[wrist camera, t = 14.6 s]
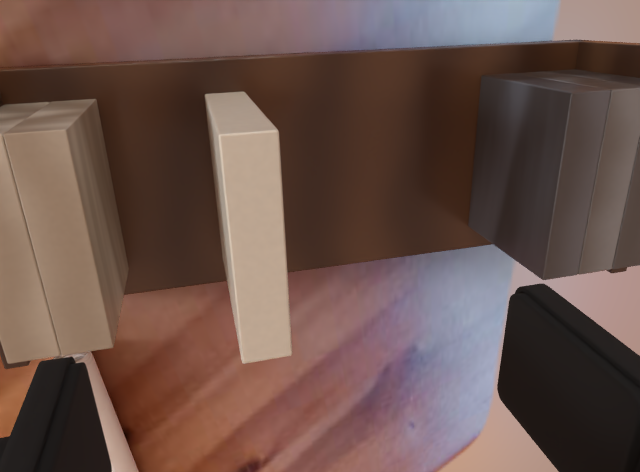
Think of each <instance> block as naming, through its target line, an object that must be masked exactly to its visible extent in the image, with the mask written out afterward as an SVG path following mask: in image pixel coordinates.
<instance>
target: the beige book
mask: <svg viewBox="0 0 640 472" xmlns="http://www.w3.org/2000/svg"><path fill="white" fill-rule="evenodd" d="M205 104H206V113H207V122H208V131H209V140H210V149H211V158H212V166H213V175H214V184H215V193H216V202H217V211H218V220H219V229H220V237H221V246H222V255H223V262H224V267H225V273H226V278H227V283H228V289H229V294H230V300H231V305H232V311H233V316H234V322H235V327H236V332H237V338H238V343H239V349H240V354H241V360H242V363H243V364H246V363H252V362H257V361H263V360H269V359H275V358H281V357H287V356H291V355H292V340H291V323H290V307H289V290H288V273H287V257H286V240H285V223H284V207H283V190H282V173H281V157H280V140H279V131H278V129H277V128H276V127H275V126H274V125H273V124H272V123H271V121H270V120H269V119H268V118H267V117H266V116H265V115H264V114H263V112H262V111H261V110H260V109H259V108H258V107H257V106H256V104H255V103H254V102H253V101H252V100H251V99H250V98H249V96H248V95H247V94H246V93H245V92H228V93H212V94H205Z"/></svg>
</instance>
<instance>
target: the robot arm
mask: <svg viewBox="0 0 640 472" xmlns="http://www.w3.org/2000/svg"><path fill="white" fill-rule="evenodd" d="M498 393H499V397H500V399H501V401H502V402H503V403H504V404H505V406H506V407H507V408H508V410H510V412H511V413H512V415H513V416H514V417H515V418H516V419H517V421H518V422H519V423H520V424H521V426H522V427H523V428H524V429H525V430H526V432H527V433H528V434H529V435H530V437H531V438H532V439H533V440H534V442H535V443H536V444H537V445H538V446H539V448H540V449H541V450H542V451H543V453H544V454H545V455H546V456H547V458H548V459H549V460H550V461H551V463H552V464H553V465H554V466H555V467H556V469H557V470H558V471H559V472H640V356H639V355H637V354H636V353H635V352H634V351H632V350H631V349H630V348H628V347H627V346H626V345H624V344H623V343H622V342H620V341H619V340H618V339H616V338H615V337H614V336H613V335H611V334H610V333H609V332H607V331H606V330H605V329H603V328H602V327H601V326H599V325H598V324H597V323H596V322H594V321H593V320H592V319H590V318H589V317H588V316H586V315H585V314H584V313H583V312H581V311H580V310H579V309H577V308H576V307H575V306H573V305H572V304H571V303H569V302H568V301H567V300H565V299H564V298H563V297H561V296H560V295H559V294H558V293H556V292H555V291H554V290H552V289H551V288H550V287H548V286H547V285H545V284H536V285H529V286H523V287H519V288H518V289H517V290H516V292H515V294H513V295H512V296H511V297H510V300H509V307H508V314H507V321H506V328H505V336H504V343H503V350H502V357H501V364H500V371H499V379H498ZM0 472H112V467H111V461H110V457H109V453H108V449H107V445H106V441H105V437H104V433H103V429H102V425H101V421H100V417H99V413H98V409H97V406H96V402H95V398H94V394H93V390H92V386H91V382H90V378H89V374H88V370H87V367H86V364H85V363H84V362H81V363H76V362H75V360H74V358H73V357H65V358H59V359H52V360H46V361H41V362H40V363H39V365H38V367H37V369H36V372H35V374H34V377H33V379H32V382H31V385H30V387H29V390H28V392H27V395H26V397H25V400H24V402H23V405H22V407H21V410H20V412H19V415H18V417H17V420H16V422H15V425H14V427H13V430H12V432H11V435H10V437H4V438H0Z"/></svg>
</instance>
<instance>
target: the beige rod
mask: <svg viewBox="0 0 640 472" xmlns="http://www.w3.org/2000/svg"><path fill="white" fill-rule="evenodd" d="M65 357H73V358H74V360H75V362H76V363H81V362H84V363H85V364H86V367H87V370H88V374H89V378H90V382H91V386H92V390H93V394H94V398H95V402H96V406H97V409H98V413H99V417H100V421H101V425H102V429H103V433H104V437H105V441H106V445H107V449H108V453H109V457H110V461H111V467H112V472H139V471H138V469H137V466H136V464H135V461H134V458H133V456H132V453H131V451H130V448H129V446H128V443H127V441H126V438H125V436H124V433H123V430H122V428H121V425H120V423H119V420H118V418H117V415H116V413H115V410H114V408H113V405H112V403H111V400H110V397H109V395H108V392H107V390H106V387H105V385H104V382H103V380H102V377H101V375H100V372H99V369H98V367H97V364H96V362H95V359H94V356H93V354H92V353H91V351H90V352H83V353H77V354H70V355H64V356H62V354H61V355H60V356H56V357H54V358H53V359H59V358H65Z"/></svg>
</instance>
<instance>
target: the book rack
mask: <svg viewBox="0 0 640 472" xmlns="http://www.w3.org/2000/svg"><path fill="white" fill-rule="evenodd" d="M228 92H245V93H246V94H247V95H248V96H249V98H250V99H251V100H252V101H253V102H254V103H255V104H256V106H257V107H258V108H259V109H260V110H261V111H262V112H263V114H264V115H265V116H266V117H267V118H268V119H269V120H270V121H271V123H272V124H273V125H274V126H275V127H276V128H277V129H278V131H279V140H280V157H281V173H282V190H283V207H284V223H285V240H286V257H287V272H294V271H301V270H308V269H316V268H323V267H330V266H338V265H345V264H352V263H359V262H367V261H374V260H381V259H389V258H396V257H403V256H410V255H418V254H425V253H432V252H440V251H447V250H454V249H461V248H469V247H476V246H483V245H491V244H494V245H495V246H497V247H498V248H499V249H501V250H502V251H503V252H505V253H506V254H508V255H509V256H510V257H512V258H513V259H515V260H516V261H517V262H519V263H520V264H521V265H523V266H524V267H526V268H527V269H528V270H530V271H531V272H533V273H534V274H535V275H537V276H538V277H539V278H541V279H542V280H547V279H553V278H560V277H566V276H573V275H577V274H585V273H592V272H598V271H604V270H607V271H609V272H610V273H617V272H623V271H626V269H627V267H631V266H637V265H640V43H623V42H605V41H604V42H603V41H589V40H564V41H563V40H562V41H542V42H521V43H500V44H479V45H458V46H437V47H416V48H395V49H375V50H354V51H333V52H312V53H291V54H270V55H249V56H228V57H208V58H187V59H166V60H145V61H124V62H103V63H82V64H61V65H41V66H20V67H0V355H1V358H2V361H3V365H4V368H5V369H9V368H16V367H22V366H27V365H29V363H30V361H31V360H37V359H43V358H49V357H56V356H60V355H61V354H62V356H64V355H70V354H77V353H83V352H90V351H96V350H102V349H109V348H113V347H114V342H115V337H116V332H117V327H118V322H119V317H120V312H121V307H122V301H123V296H124V295H126V294H134V293H141V292H148V291H155V290H163V289H170V288H177V287H185V286H192V285H199V284H206V283H214V282H221V281H227V278H226V273H225V267H224V262H223V255H222V246H221V237H220V229H219V220H218V211H217V202H216V193H215V184H214V175H213V166H212V158H211V149H210V140H209V131H208V122H207V113H206V104H205V94H212V93H228Z"/></svg>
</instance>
